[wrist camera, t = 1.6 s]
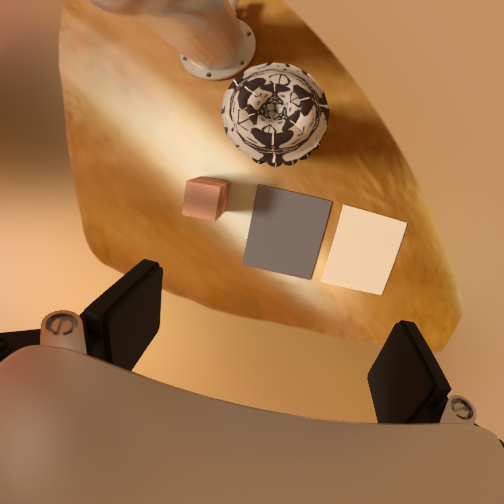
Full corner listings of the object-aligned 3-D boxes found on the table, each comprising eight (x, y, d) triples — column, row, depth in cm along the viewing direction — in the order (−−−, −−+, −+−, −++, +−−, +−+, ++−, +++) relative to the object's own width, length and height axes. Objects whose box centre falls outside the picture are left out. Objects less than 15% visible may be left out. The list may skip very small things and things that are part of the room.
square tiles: (258, 184, 44) (258, 184, 44) (406, 222, 43) (407, 223, 43) (242, 264, 49) (242, 264, 49) (381, 294, 48) (381, 295, 48)
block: (201, 176, 45) (186, 181, 39) (230, 181, 45) (220, 187, 38) (196, 205, 47) (182, 214, 40) (225, 211, 47) (214, 221, 40)
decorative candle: (323, 130, 40) (366, 106, 17) (284, 172, 43) (280, 197, 20) (279, 92, 39) (268, 28, 16) (240, 134, 42) (185, 117, 19)
